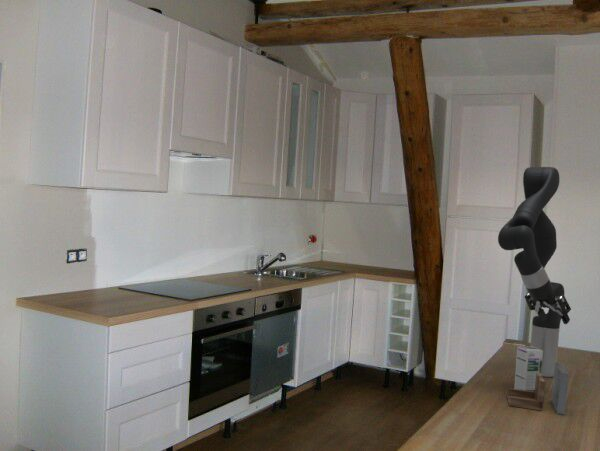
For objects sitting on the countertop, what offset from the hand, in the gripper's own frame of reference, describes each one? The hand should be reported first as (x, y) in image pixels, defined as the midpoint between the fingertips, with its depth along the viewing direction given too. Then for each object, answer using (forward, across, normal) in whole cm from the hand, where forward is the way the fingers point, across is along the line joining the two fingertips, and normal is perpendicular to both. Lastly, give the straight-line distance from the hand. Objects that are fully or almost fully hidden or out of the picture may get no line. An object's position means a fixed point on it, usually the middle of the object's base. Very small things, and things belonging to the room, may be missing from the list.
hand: (555, 321), depth 208 cm
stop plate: (+12, -11, +24) cm, 29 cm away
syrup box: (+13, +4, +21) cm, 25 cm away
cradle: (+8, -4, +30) cm, 31 cm away
